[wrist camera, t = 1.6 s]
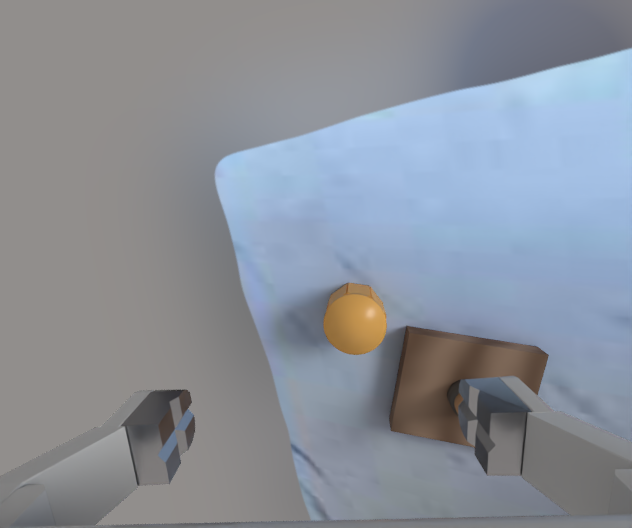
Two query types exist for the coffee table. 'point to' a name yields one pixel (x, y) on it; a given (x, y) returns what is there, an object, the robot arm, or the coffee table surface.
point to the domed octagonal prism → (355, 319)
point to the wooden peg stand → (452, 378)
